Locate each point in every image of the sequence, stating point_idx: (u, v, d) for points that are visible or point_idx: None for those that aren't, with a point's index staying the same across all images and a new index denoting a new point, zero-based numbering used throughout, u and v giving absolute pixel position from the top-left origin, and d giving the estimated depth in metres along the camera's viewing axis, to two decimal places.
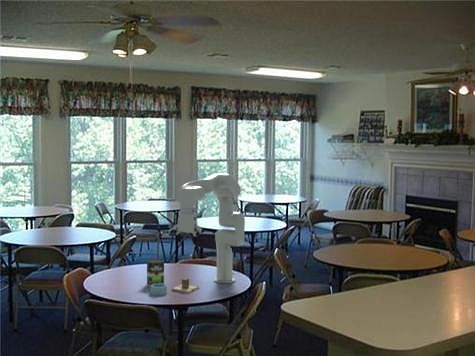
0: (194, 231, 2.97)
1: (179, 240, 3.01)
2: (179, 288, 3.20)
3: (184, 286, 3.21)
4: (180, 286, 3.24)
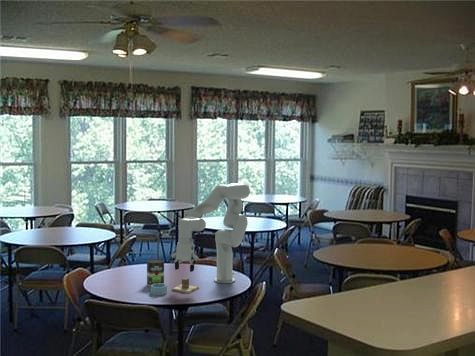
0: (191, 260, 3.18)
1: (177, 267, 3.22)
2: (179, 288, 3.20)
3: (184, 286, 3.21)
4: (180, 286, 3.24)
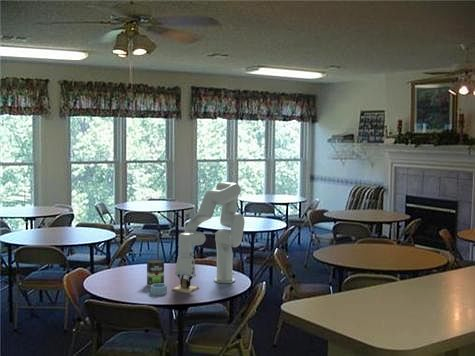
0: (189, 275, 3.20)
1: None
2: (179, 288, 3.20)
3: (184, 286, 3.21)
4: (180, 286, 3.24)
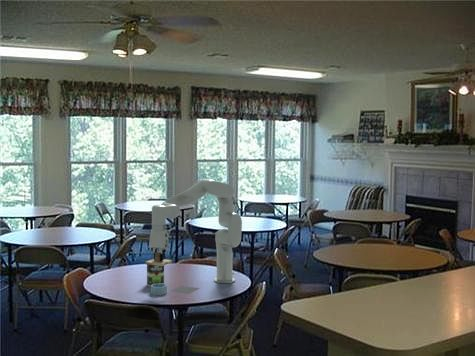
0: (162, 248, 3.12)
1: None
2: (152, 261, 3.12)
3: (157, 259, 3.13)
4: (153, 260, 3.16)
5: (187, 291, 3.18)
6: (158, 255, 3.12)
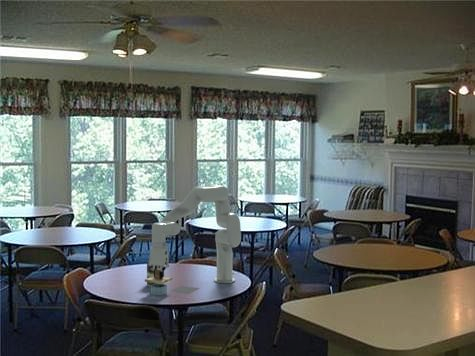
0: (162, 266, 3.13)
1: None
2: (152, 279, 3.13)
3: (157, 277, 3.13)
4: (153, 277, 3.17)
5: (187, 291, 3.18)
6: (158, 273, 3.13)
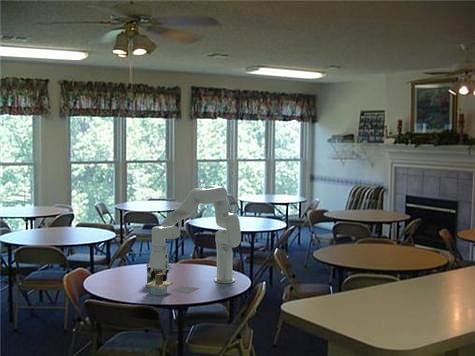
0: (164, 269, 3.12)
1: (153, 278, 3.16)
2: (152, 284, 3.13)
3: (158, 282, 3.14)
4: (154, 282, 3.17)
5: (187, 291, 3.18)
6: (158, 277, 3.13)
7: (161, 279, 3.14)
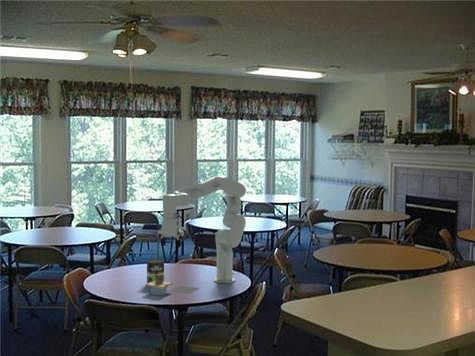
0: (177, 235, 3.17)
1: (163, 243, 3.21)
2: (152, 284, 3.13)
3: (158, 282, 3.14)
4: (154, 282, 3.17)
5: (187, 291, 3.18)
6: (158, 277, 3.13)
7: (161, 279, 3.14)
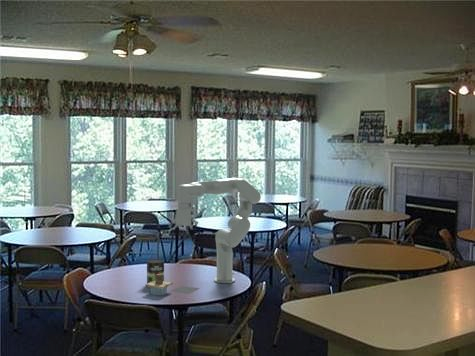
0: (191, 224, 3.24)
1: (177, 233, 3.28)
2: (152, 284, 3.13)
3: (158, 282, 3.14)
4: (154, 282, 3.17)
5: (187, 291, 3.18)
6: (158, 277, 3.13)
7: (161, 279, 3.14)
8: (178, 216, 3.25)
